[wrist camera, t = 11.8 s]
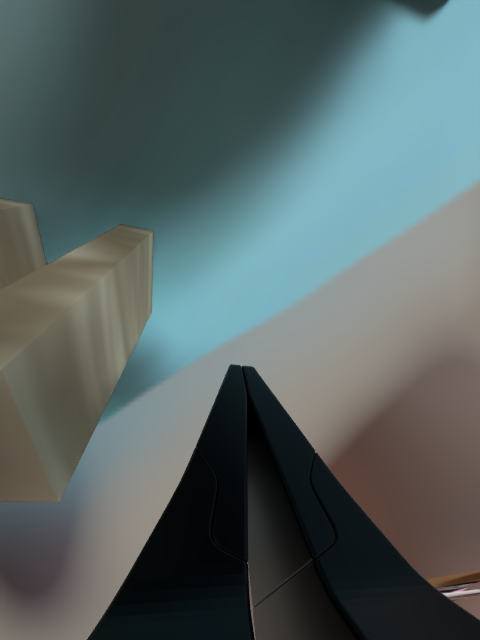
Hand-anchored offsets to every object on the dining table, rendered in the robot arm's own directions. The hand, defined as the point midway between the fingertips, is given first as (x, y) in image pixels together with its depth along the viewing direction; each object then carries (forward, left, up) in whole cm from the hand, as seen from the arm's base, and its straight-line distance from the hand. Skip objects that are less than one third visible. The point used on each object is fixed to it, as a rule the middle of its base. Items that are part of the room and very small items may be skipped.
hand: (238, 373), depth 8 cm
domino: (+5, 0, -7) cm, 9 cm away
